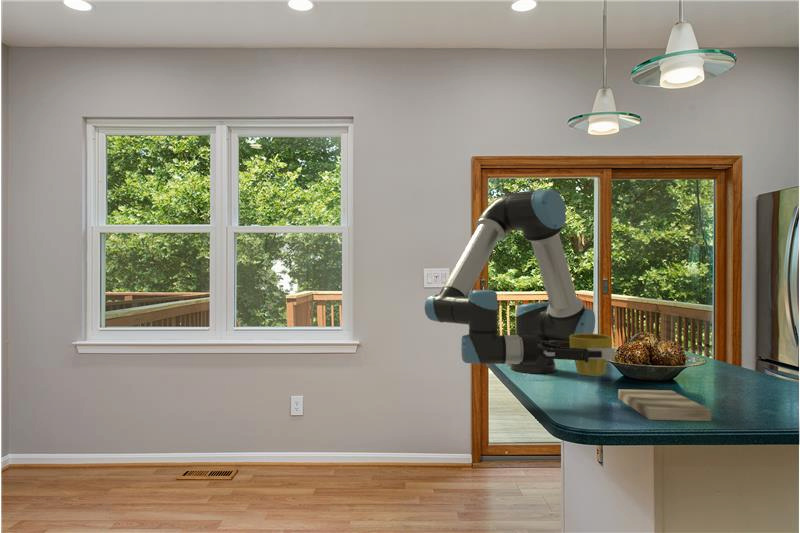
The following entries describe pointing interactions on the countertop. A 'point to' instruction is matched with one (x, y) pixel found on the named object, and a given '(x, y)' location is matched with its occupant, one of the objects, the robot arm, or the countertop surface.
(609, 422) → the countertop surface
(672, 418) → the birch stand
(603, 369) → the plant pot
